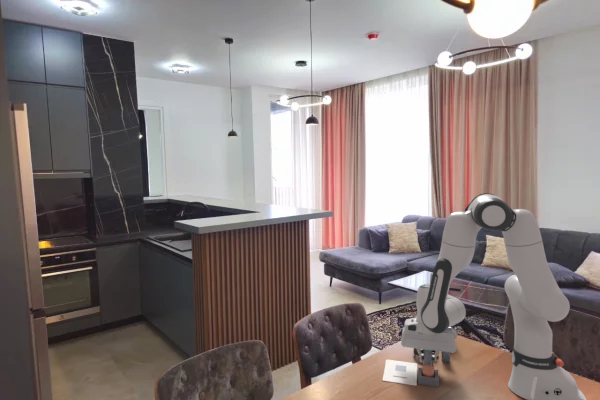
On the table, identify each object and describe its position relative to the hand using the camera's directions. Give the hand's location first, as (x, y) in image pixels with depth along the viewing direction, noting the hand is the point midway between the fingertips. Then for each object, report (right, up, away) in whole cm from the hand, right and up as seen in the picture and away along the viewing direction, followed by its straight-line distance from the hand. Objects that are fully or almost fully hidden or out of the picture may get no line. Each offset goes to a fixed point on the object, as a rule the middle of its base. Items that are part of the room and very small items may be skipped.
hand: (427, 359), depth 147 cm
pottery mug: (+3, -3, +11) cm, 11 cm away
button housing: (-3, -4, -8) cm, 10 cm away
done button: (-3, -3, -8) cm, 9 cm away
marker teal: (0, -3, 0) cm, 3 cm away
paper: (-11, -4, -2) cm, 12 cm away
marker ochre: (+9, -3, +6) cm, 11 cm away
